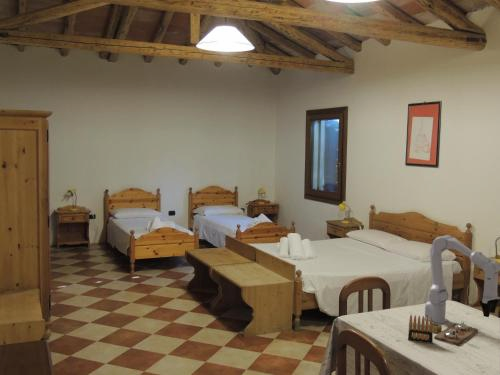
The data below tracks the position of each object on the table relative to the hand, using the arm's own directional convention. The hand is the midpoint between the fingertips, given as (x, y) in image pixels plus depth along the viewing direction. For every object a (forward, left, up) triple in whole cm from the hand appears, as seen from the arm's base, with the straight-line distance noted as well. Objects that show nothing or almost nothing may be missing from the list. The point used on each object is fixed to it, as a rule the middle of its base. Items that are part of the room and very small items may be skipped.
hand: (489, 314), depth 240 cm
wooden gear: (-20, -13, -10) cm, 26 cm away
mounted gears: (-10, -11, -9) cm, 18 cm away
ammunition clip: (-19, -30, -10) cm, 37 cm away
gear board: (-10, -11, -10) cm, 18 cm away
